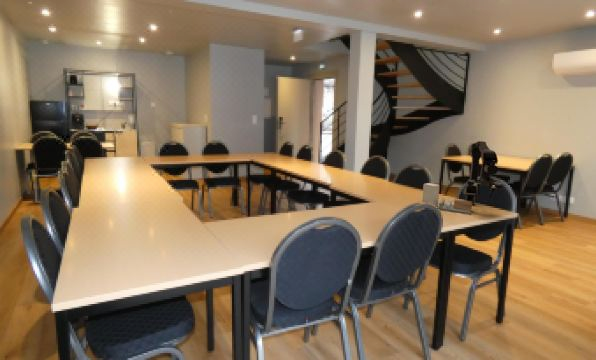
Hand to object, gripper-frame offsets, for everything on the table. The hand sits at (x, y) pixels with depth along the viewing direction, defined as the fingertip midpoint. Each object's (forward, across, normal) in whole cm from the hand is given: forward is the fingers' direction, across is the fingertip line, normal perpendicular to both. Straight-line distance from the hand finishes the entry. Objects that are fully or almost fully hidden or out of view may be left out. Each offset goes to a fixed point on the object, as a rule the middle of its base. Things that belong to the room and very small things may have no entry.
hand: (482, 197), depth 223 cm
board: (+10, -14, 0) cm, 17 cm away
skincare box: (+10, -29, -4) cm, 31 cm away
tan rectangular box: (+9, -10, 0) cm, 13 cm away
